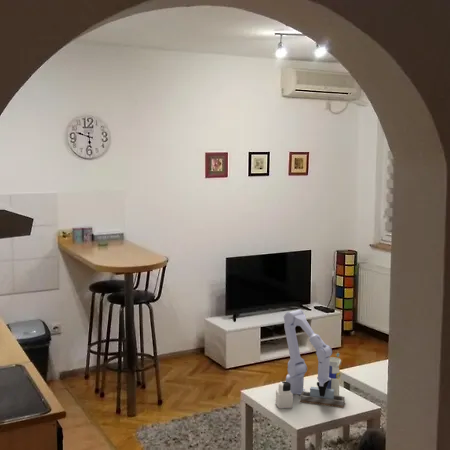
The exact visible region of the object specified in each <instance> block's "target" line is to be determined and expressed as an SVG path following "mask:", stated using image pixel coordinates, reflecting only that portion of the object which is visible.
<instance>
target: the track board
mask: <svg viewBox="0 0 450 450" xmlns="http://www.w3.org/2000/svg"><path fill="white" fill-rule="evenodd" d="M345 401H346V400H345V396H341V395H339V396H335V395H334V399H326V398H319V397H311V396H310V391H302V393H301V395H300V397H299V403H305V404H311V405H319V406H326V407H334V408H342V409H343V408H344V405H345Z"/></svg>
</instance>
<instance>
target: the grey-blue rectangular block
mask: <svg viewBox="0 0 450 450" xmlns="http://www.w3.org/2000/svg"><path fill="white" fill-rule="evenodd" d="M309 392H310V396H311V397H319V398H326V399H334V389H327V388H326V391H325V395H324V397H323V396H320V393H319V388H318V386H310V388H309Z"/></svg>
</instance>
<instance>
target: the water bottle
mask: <svg viewBox="0 0 450 450" xmlns="http://www.w3.org/2000/svg"><path fill="white" fill-rule="evenodd" d="M334 354H335V356H336V357H334V356H330V364H329V378H331V380H329V383H328V386H327V389H334V395H335V396H340V378H341V371H340V368H339V367H340V366H342V359H341V358H340V355H341V353H339V352H338V351H337V353H334Z"/></svg>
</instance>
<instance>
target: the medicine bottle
mask: <svg viewBox="0 0 450 450" xmlns="http://www.w3.org/2000/svg"><path fill="white" fill-rule="evenodd" d="M290 389H291V384H290V383H289V382H286V380H283V381H280V382H279V383H278V389H275V405H276V406H277V407H278V408H279V409H293V407H294V406H293V404H294V403H293V401H294V394H292V393H291V391H290Z"/></svg>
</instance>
